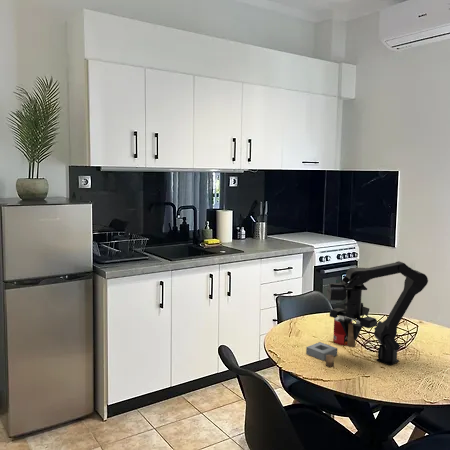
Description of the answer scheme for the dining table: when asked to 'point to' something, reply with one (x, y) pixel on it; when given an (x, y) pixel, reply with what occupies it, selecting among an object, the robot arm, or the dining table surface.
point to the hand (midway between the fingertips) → (351, 338)
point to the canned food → (339, 333)
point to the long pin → (350, 335)
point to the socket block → (321, 350)
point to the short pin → (329, 360)
